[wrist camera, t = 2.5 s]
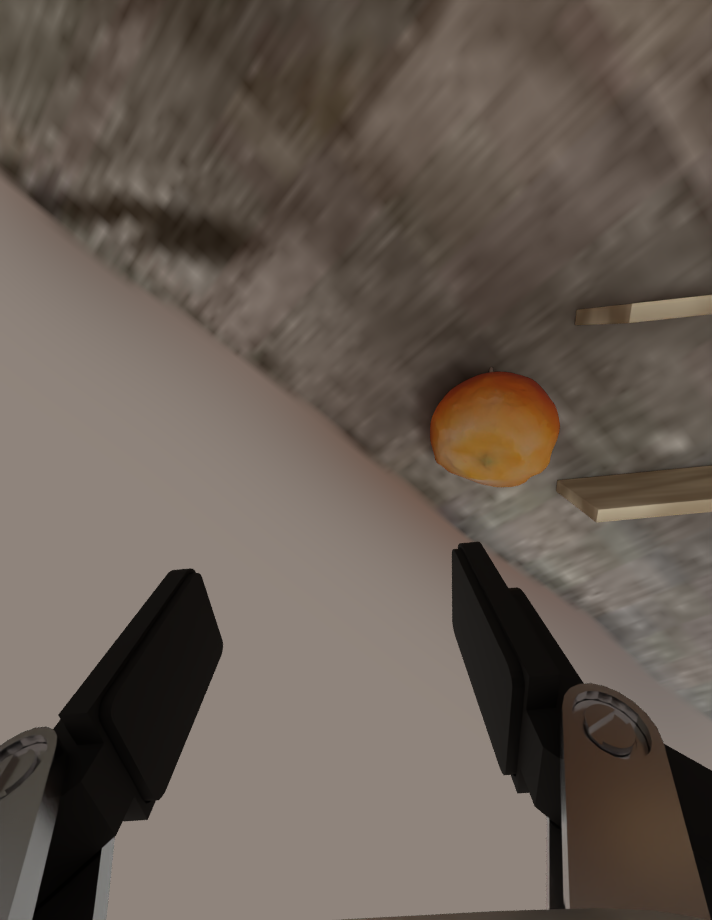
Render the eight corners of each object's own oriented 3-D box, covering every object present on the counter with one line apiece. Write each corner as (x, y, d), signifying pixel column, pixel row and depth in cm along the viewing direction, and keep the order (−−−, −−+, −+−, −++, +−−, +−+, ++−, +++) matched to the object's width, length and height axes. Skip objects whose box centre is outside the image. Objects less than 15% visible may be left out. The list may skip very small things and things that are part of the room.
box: (576, 309, 24) (632, 303, 19) (784, 286, 23) (894, 274, 18) (556, 491, 28) (596, 522, 24) (727, 474, 28) (803, 503, 23)
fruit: (579, 396, 24) (595, 475, 19) (487, 447, 30) (479, 519, 24) (504, 318, 22) (498, 380, 17) (421, 388, 28) (397, 451, 23)
